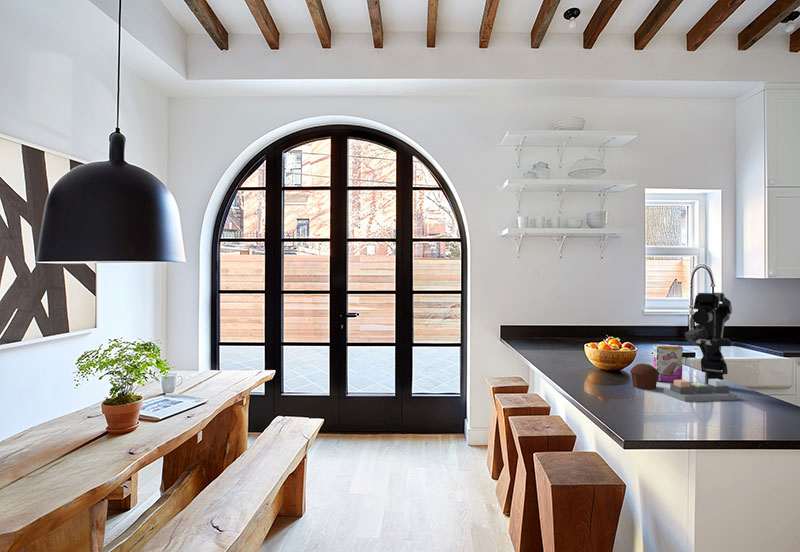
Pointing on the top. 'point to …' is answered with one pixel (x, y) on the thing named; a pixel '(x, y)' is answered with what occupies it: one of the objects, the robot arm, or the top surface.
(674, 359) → the candy bar box
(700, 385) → the sage button
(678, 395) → the button panel
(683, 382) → the terracotta button
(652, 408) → the top surface
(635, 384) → the muffin
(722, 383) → the slate button
